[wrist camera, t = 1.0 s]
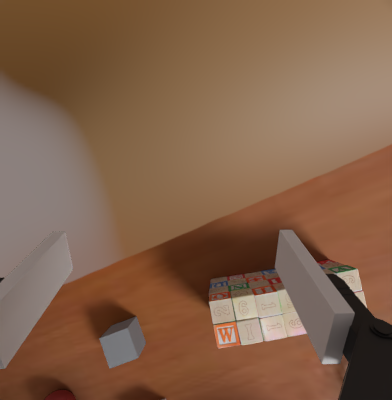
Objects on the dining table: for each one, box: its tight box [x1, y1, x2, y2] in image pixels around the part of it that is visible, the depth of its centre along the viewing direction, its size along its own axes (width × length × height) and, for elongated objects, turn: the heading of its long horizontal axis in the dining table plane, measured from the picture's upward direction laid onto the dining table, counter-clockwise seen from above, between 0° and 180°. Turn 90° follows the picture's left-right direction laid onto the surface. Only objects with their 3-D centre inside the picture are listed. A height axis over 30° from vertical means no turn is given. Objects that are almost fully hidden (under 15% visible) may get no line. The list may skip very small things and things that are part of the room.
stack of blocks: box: [209, 260, 367, 348], centre depth 40 cm, size 21×6×12 cm, turn 101°
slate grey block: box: [99, 316, 146, 368], centre depth 45 cm, size 5×5×5 cm
